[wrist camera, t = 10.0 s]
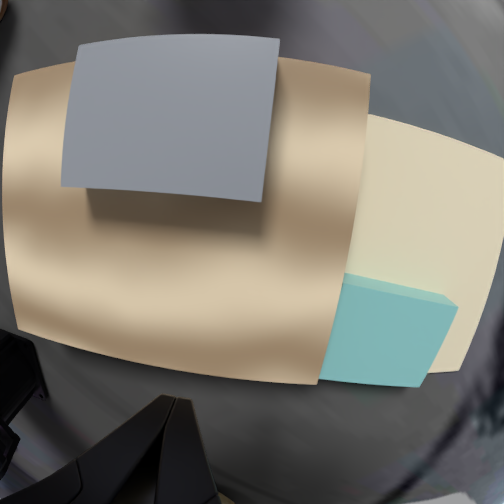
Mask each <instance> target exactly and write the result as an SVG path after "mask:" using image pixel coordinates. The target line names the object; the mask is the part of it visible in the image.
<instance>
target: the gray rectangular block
mask: <svg viewBox="0 0 504 504" xmlns="http://www.w3.org/2000/svg"><path fill="white" fill-rule="evenodd" d="M279 45H280V39H276V38H266V37H256V36H243V35H223V34H174V35H155V36H142V37H132V38H123V39H115V40H107V41H101V42H95V43H89V44H83V45H79V49H78V53H77V57H76V62H75V67H74V71H73V77H72V82H71V88H70V93H69V100H68V106H67V114H66V121H65V130H64V140H63V152H62V166H61V187H76V188H98V189H116V190H132V191H146V192H159V193H172V194H184V195H195V196H206V197H216V198H226V199H235V200H244V201H253V202H261V200H262V192H263V183H264V175H265V166H266V158H267V149H268V141H269V132H270V123H271V115H272V106H273V97H274V89H275V80H276V71H277V62H278V54H279Z"/></svg>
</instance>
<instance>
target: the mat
mask: <svg viewBox="0 0 504 504" xmlns="http://www.w3.org/2000/svg"><path fill="white" fill-rule="evenodd" d="M503 237H504V159H503V158H501V157H498V156H496V155H494V154H491V153H489V152H487V151H484V150H482V149H479V148H477V147H474V146H471V145H469V144H466V143H463V142H461V141H458V140H455V139H452V138H449V137H447V136H444V135H441V134H438V133H435V132H432V131H428V130H425V129H422V128H419V127H415V126H412V125H408V124H405V123H401V122H398V121H394V120H390V119H386V118H383V117H379V116H374V115H370V114H368V118H367V129H366V139H365V148H364V157H363V165H362V172H361V180H360V187H359V194H358V201H357V207H356V213H355V219H354V225H353V231H352V237H351V242H350V248H349V253H348V258H347V263H346V268H345V273H349V274H354V275H358V276H362V277H367V278H371V279H376V280H380V281H385V282H389V283H394V284H398V285H403V286H407V287H411V288H416V289H420V290H425V291H429V292H434V293H438V294H443V295H444V296H446V297H447V298H448V299H449V300H451V301H452V302H453V303H454V304H455V305H457V306H458V307H459V308H458V310H457V313H456V315H455V317H454V320H453V322H452V324H451V326H450V329H449V331H448V333H447V335H446V337H445V339H444V341H443V343H442V345H441V347H440V349H439V351H438V353H437V355H436V357H435V359H434V361H433V363H432V365H431V367H430V369H429V371H428V372H427V373H435V372H449V371H459V369H460V366H461V364H462V362H463V360H464V358H465V355H466V353H467V351H468V348H469V346H470V343H471V341H472V339H473V336H474V333H475V331H476V328H477V326H478V323H479V320H480V317H481V315H482V312H483V309H484V306H485V303H486V300H487V297H488V294H489V291H490V287H491V284H492V281H493V277H494V274H495V270H496V266H497V262H498V258H499V254H500V250H501V246H502V241H503Z"/></svg>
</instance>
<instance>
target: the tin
mask: <svg viewBox="0 0 504 504" xmlns="http://www.w3.org/2000/svg"><path fill="white" fill-rule="evenodd" d="M7 4H8V0H0V21H1V19H2V17H3V15H4V13H5V11H6V8H7Z"/></svg>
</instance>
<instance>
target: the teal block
mask: <svg viewBox="0 0 504 504" xmlns="http://www.w3.org/2000/svg"><path fill="white" fill-rule="evenodd" d="M458 308H459V307H458V306H457V305H455V304H454V303H453V302H452V301H451V300H449V299H448V298H447V297H446V296H444V295H443V294H438V293H434V292H429V291H425V290H420V289H416V288H411V287H407V286H403V285H398V284H394V283H389V282H385V281H380V280H376V279H371V278H367V277H362V276H358V275H354V274H349V273H344V278H343V283H342V287H341V292H340V296H339V301H338V305H337V309H336V314H335V318H334V322H333V326H332V330H331V334H330V338H329V342H328V346H327V350H326V353H325V357H324V361H323V364H322V368H321V372H320V375H319V379H325V380H334V381H342V382H352V383H362V384H374V385H387V386H403V387H420V385H421V383H422V381H423V380H424V378H425V376H426V374H427V372H428V371H429V369H430V367H431V365H432V363H433V361H434V359H435V357H436V355H437V353H438V351H439V349H440V347H441V345H442V343H443V341H444V339H445V337H446V335H447V333H448V331H449V329H450V326H451V324H452V322H453V320H454V317H455V315H456V313H457V310H458Z"/></svg>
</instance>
